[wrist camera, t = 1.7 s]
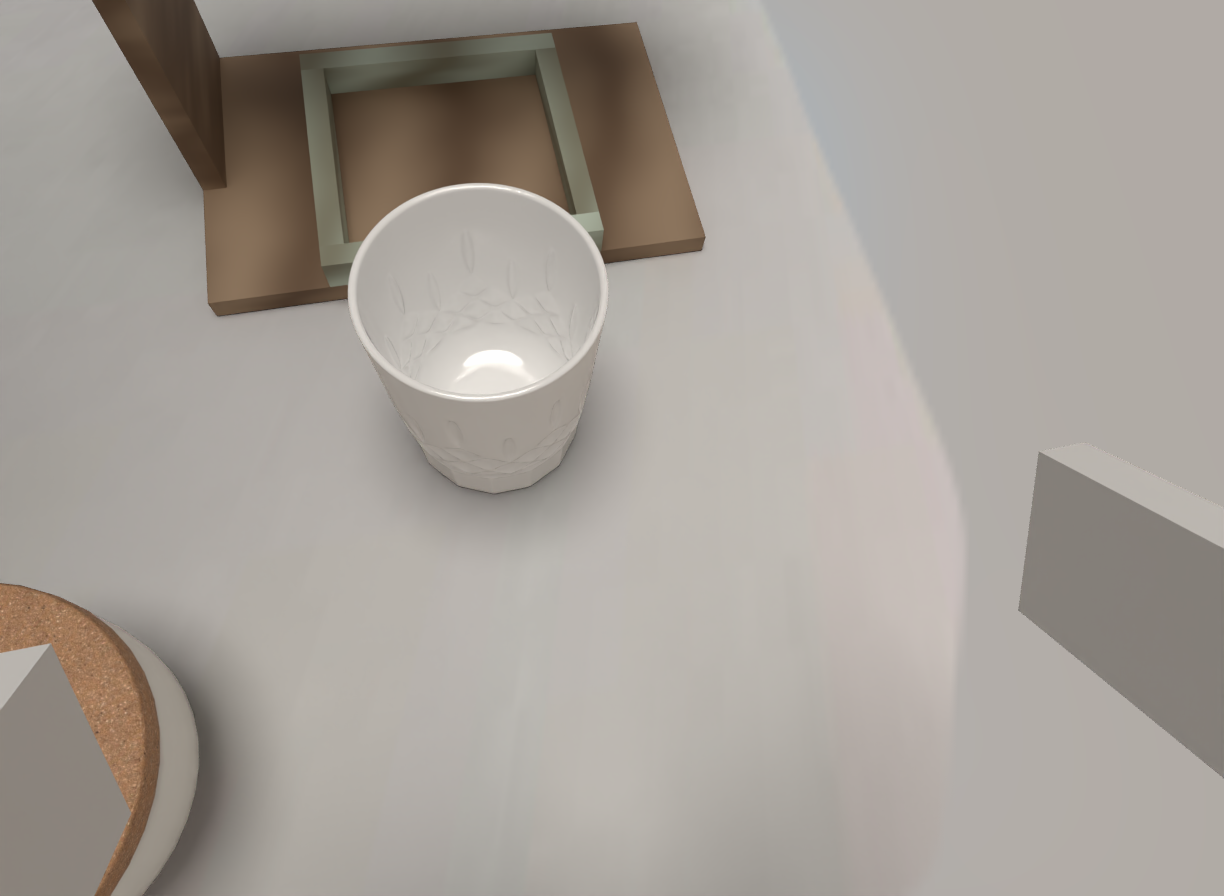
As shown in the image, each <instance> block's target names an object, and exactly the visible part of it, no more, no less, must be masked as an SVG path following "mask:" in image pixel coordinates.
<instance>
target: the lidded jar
mask: <svg viewBox="0 0 1224 896" xmlns="http://www.w3.org/2000/svg"><path fill="white" fill-rule="evenodd" d="M50 643H51V645H52V647H53V649H54V651H55V653H56V655H57V657H58V659H59V661H60V664H61V666H62V668H63V670H64V672H65V674H66V676H67V678H68V680H69V683H70V685H71V687H72V689H73V691H74V693H75V695H76V697H77V700H78V702H79V704H80V706H81V708H82V710H83V712H84V714H85V716H86V719H87V721H88V723H89V725H90V727H91V729H92V731H93V733H94V735H95V738H96V740H97V742H98V744H99V746H100V748H101V750H102V752H103V754H104V757H105V759H106V761H107V763H108V765H109V767H110V769H111V771H112V773H113V776H114V778H115V780H116V782H117V784H118V786H119V788H120V790H121V793H122V795H123V797H124V799H125V801H126V803H127V805H128V807H129V809H130V812H131V815H130V817H129V819H128V822H127V824H126V826H125V828H124V831H123V833H122V835H121V837H120V840H119V842H118V844H117V846H116V849H115V851H114V853H113V855H112V857H111V860H110V862H109V864H108V866H107V869H106V871H105V873H104V875H103V878H102V880H101V882H100V884H99V887H98V889H97V891H96V893H95V896H142V895H143V894H144V893H145V891H146V890H147V889H148V887H149V886H150V885H151V884H152V882H153V881H154V880H155V878H156V877H157V876H158V875H159V873H160V872H161V870H162V869H163V867H164V865H165V864H166V862H167V860H168V859H169V857H170V855H171V854H172V852H173V850H174V849H175V847H176V845H177V843H178V841H179V838H180V836H181V834H182V831H183V829H184V827H185V824H186V822H187V820H188V817H189V813H190V810H191V806H192V803H193V799H194V795H195V792H196V785H197V777H198V770H199V739H198V734H197V729H196V723H195V718H194V714H193V712H192V709H191V706H190V704H189V701H188V699H187V696H186V694H185V692H184V690H183V689H182V687H181V685H180V684H179V682H178V681H177V679H176V677H175V676H174V674H173V673H172V672H171V671H170V670H169V668H168V667H167V666H166V665H165V664H164V663H163V662H162V661H161V659H160V658H159V657H158V656H157V655H156V654H155V653H154V652H153V651H152V650H151V649H150V648H148V647H147V646H146V645H144V644H143V643H142V642H140V641H139V640H138V639H136V638H135V637H134V636H132V635H131V634H129V633H128V632H126V631H125V630H124V629H122V628H121V627H119V626H116V625H114V624H112V623H110V622H108V621H106V620H104V619H102V618H100V617H98V616H96V615H93V614H92V613H91V612H89V611H87V610H85V609H83V608H81V607H79V606H77V605H75V604H73V603H71V602H69V601H67V600H65V599H63V598H60V597H58V596H55V595H52V594H49V593H45V592H42V591H38V590H35V589H31V588H28V587H24V586H21V585H12V584H3V583H0V653H3V652H9V651H14V650H19V649H24V648H29V647H34V646H39V645H45V644H50Z"/></svg>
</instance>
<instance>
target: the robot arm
mask: <svg viewBox="0 0 1224 896" xmlns="http://www.w3.org/2000/svg"><path fill="white" fill-rule="evenodd" d="M1018 610H1019V611H1020V612H1021V613H1022V614H1023V615H1025V616H1026V617H1027V618H1028V619H1029V620H1031V621H1032V622H1033V623H1034V624H1036V625H1037V626H1038V627H1039V628H1040V629H1042V630H1043V631H1044V632H1045V633H1047V634H1048V635H1049V636H1050V637H1052V638H1053V639H1054V640H1055V641H1056V642H1058V643H1059V644H1060V645H1061V646H1063V647H1064V648H1065V649H1066V650H1068V651H1069V652H1070V653H1071V654H1072V655H1074V656H1075V657H1076V658H1077V659H1078V660H1080V661H1081V662H1082V663H1083V664H1085V665H1086V666H1087V667H1088V668H1090V669H1091V670H1092V671H1093V672H1094V673H1096V674H1097V675H1098V676H1099V677H1101V678H1102V679H1103V680H1104V681H1105V682H1107V683H1108V684H1109V685H1110V686H1111V687H1113V688H1114V689H1115V690H1116V691H1118V692H1119V693H1120V694H1121V695H1123V696H1124V697H1125V698H1126V699H1127V700H1129V701H1130V702H1131V703H1132V704H1134V705H1135V706H1136V707H1137V708H1138V709H1140V710H1141V711H1142V712H1143V713H1145V714H1146V715H1147V716H1148V717H1149V718H1151V719H1152V720H1153V721H1154V722H1156V723H1157V724H1158V725H1159V726H1160V727H1162V728H1163V729H1164V730H1165V731H1167V732H1168V733H1169V734H1170V735H1172V736H1173V737H1174V738H1175V739H1176V740H1178V741H1179V742H1180V743H1181V744H1182V745H1184V746H1185V747H1186V748H1187V749H1189V750H1190V751H1191V752H1192V753H1193V754H1195V755H1196V756H1197V757H1199V758H1200V759H1201V760H1202V761H1203V762H1204V763H1206V764H1207V765H1208V766H1209V767H1211V768H1212V769H1213V770H1214V771H1215V772H1217V773H1218V774H1219V775H1220V776H1222V777H1223V778H1224V508H1223V507H1221V506H1219V505H1217V504H1214V503H1212V502H1211V501H1208V500H1206V499H1204V498H1202V497H1200V496H1198V495H1196V494H1194V493H1192V492H1190V491H1187V490H1185V489H1183V488H1181V487H1179V486H1177V485H1175V484H1173V483H1171V482H1168V481H1166V480H1164V479H1162V478H1160V477H1158V476H1156V475H1154V474H1151V473H1150V472H1147V471H1145V470H1143V469H1141V468H1139V467H1137V466H1135V465H1133V464H1131V463H1128V462H1126V461H1124V460H1122V459H1120V458H1118V457H1116V456H1114V455H1111V454H1109V453H1107V452H1105V451H1103V450H1101V449H1099V448H1097V447H1095V446H1092V445H1090V444H1088V443H1086V442H1085V443H1079V444H1075V445H1069V446H1064V447H1059V448H1053V449H1048V450H1044V451H1039V454H1038V462H1037V470H1036V477H1035V485H1034V493H1033V501H1032V508H1031V516H1030V524H1029V532H1028V539H1027V548H1026V556H1025V563H1024V570H1023V578H1022V586H1021V594H1020V602H1019V609H1018ZM130 815H131V812H130V809H129V807H128V805H127V803H126V801H125V799H124V797H123V795H122V793H121V790H120V788H119V786H118V784H117V782H116V780H115V778H114V776H113V773H112V771H111V769H110V767H109V765H108V763H107V761H106V759H105V757H104V754H103V752H102V750H101V748H100V746H99V744H98V742H97V740H96V738H95V735H94V733H93V731H92V729H91V727H90V725H89V723H88V721H87V719H86V716H85V714H84V712H83V710H82V708H81V706H80V704H79V702H78V700H77V697H76V695H75V693H74V691H73V689H72V687H71V685H70V683H69V680H68V678H67V676H66V674H65V672H64V670H63V668H62V666H61V664H60V661H59V659H58V657H57V655H56V653H55V651H54V649H53V647H52V645H51V643H50V644H45V645H39V646H34V647H29V648H24V649H19V650H14V651H9V652H3V653H0V896H95V893H96V891H97V889H98V887H99V884H100V882H101V880H102V878H103V875H104V873H105V871H106V869H107V866H108V864H109V862H110V860H111V857H112V855H113V853H114V851H115V849H116V846H117V844H118V842H119V840H120V837H121V835H122V833H123V831H124V828H125V826H126V824H127V822H128V819H129V817H130Z"/></svg>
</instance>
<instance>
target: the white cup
mask: <svg viewBox="0 0 1224 896" xmlns="http://www.w3.org/2000/svg"><path fill="white" fill-rule="evenodd" d="M608 297H609V287H608V278H607V272H606V268H605V265H604V262H603V259H602V256H601V254H600V252H599V250H598V248H597V246H596V244H595V242H594V241H593V239H592V238H591V236H590V235H589V234H588V232H587V231H586V230H585V229H584V227H583V226H582V225H581V224H580V223H579V222H578V221H577V220H576V219H575V218H574V217H573V216H571V215H570V214H569V213H568V212H566V211H565V210H564V209H562V208H561V207H559V206H558V205H556V204H555V203H553V202H551V201H550V200H548V199H546V198H544V197H542V196H539V195H537V194H535V193H532V192H529V191H526V190H523V189H520V188H516V187H512V186H507V185H500V184H491V183H467V184H458V185H451V186H446V187H442V188H438V189H435V190H432V191H429V192H426V193H423V194H421V195H418V196H416V197H414V198H412V199H410V200H408V201H406V202H405V203H403V204H401V205H400V206H398V207H397V208H395V209H394V210H392V211H391V212H390V213H389V214H387V215H386V216H385V217H384V218H383V219H382V220H380V221H379V222H378V223H377V225H376V226H375V227H374V228H373V229H372V230H371V231H370V233H369V234H368V235H367V237H366V238H365V239H364V241H363V243H362V244H361V246H360V248H359V250H358V252H357V254H356V256H355V258H354V261H353V264H352V267H351V271H350V275H349V281H348V305H349V311H350V316H351V320H352V323H353V326H354V328H355V331H356V333H357V335H358V337H359V339H360V341H361V343H362V345H363V347H364V348H365V350H366V352H367V354H368V356H369V358H370V360H371V362H372V364H373V366H374V368H375V370H376V372H377V373H378V375H379V377H380V379H381V381H382V383H383V385H384V387H385V389H386V391H387V393H388V395H389V397H390V399H391V401H392V403H393V404H394V406H395V408H396V409H397V411H398V413H399V414H400V416H401V418H402V420H403V421H404V423H405V425H406V426H407V428H408V430H409V432H410V433H411V434H412V435H413V437H414V438H415V439H416V440H417V442H418V443H419V444H420V446H421V448H422V450H423V452H424V454H425V456H426V458H427V460H428V462H429V464H430V465H432V466H433V467H434V468H436V469H437V470H438V471H439V472H441V473H442V474H443V475H445V476H446V477H447V478H448V479H450V480H451V481H452V482H453V483H455V484H456V485H457V486H461V487H465V488H470V489H474V490H479V491H483V492H488V493H492V494H496V493H501V492H505V491H510V490H515V489H520V488H525V487H529V486H532V485H533V484H534V483H536V482H537V481H538V480H540V479H541V478H542V477H544V476H545V475H547V474H548V473H549V472H551V471H552V470H553V469H555V468H556V467H557V466H559V465H560V463H561V461H562V459H563V457H564V455H565V453H566V452H567V450H568V448H569V446H570V444H571V442H572V440H573V438H574V436H575V434H576V429H577V424H578V421H579V419H580V416H581V413H582V410H583V407H584V404H585V400H586V396H587V392H588V389H589V385H590V382H591V377H592V373H593V368H594V364H595V359H596V355H597V350H598V346H599V341H600V337H601V333H602V329H603V325H604V320H605V316H606V312H607V307H608Z"/></svg>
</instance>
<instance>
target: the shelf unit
mask: <svg viewBox="0 0 1224 896" xmlns="http://www.w3.org/2000/svg"><path fill="white" fill-rule="evenodd" d="M92 1H93V3H94V4H95V6H96V8H97V10H98V11H99V13H100V15H101V16H102V18H103V20H104V22H105V23H106V25H107V27H108V28H109V30H110V32H111V34H112V35H113V37H114V39H115V40H116V42H117V44H118V45H119V47H120V49H121V51H122V52H123V54H124V56H125V57H126V59H127V61H128V63H129V64H130V66H131V68H132V69H133V71H134V73H135V75H136V76H137V78H138V80H139V81H140V83H141V85H142V86H143V88H144V90H145V92H146V93H147V95H148V97H149V98H150V100H151V102H152V104H153V105H154V107H155V109H156V110H157V112H158V114H159V116H160V117H161V119H162V121H163V122H164V124H165V126H166V128H167V129H168V131H169V133H170V134H171V136H172V138H173V139H174V141H175V143H176V145H177V146H178V148H179V150H180V151H181V153H182V155H183V157H184V158H185V160H186V162H187V163H188V165H189V167H190V169H191V170H192V172H193V174H194V175H195V177H196V179H197V180H198V182H199V184H200V186H201V187H202V189H203V194H204V219H205V243H206V268H207V292H208V304H209V306H210V307H211V308H212V310H213V311H214V313H215V314H216V315H217V316H221V315H229V314H236V313H243V312H251V311H258V310H265V309H273V308H280V307H287V306H295V305H302V304H310V303H317V302H324V301H332V300H339V299H346V298H348V281H349V275H350V271H351V267H352V264H353V261H354V258H355V256H356V254H357V252H358V250H359V248H360V246H361V244H362V243H363V241H364V239H365V238H366V237H367V235H368V234H369V233H370V231H371V230H372V229H373V228H374V227H375V226H376V225H377V223H378V222H379V221H380V220H382V219H383V218H384V217H385V216H386V215H387V214H389V213H390V212H391V211H392V210H394V209H395V208H397V207H398V206H400V205H401V204H403V203H405V202H406V201H408V200H410V199H412V198H414V197H416V196H418V195H421V194H423V193H426V192H429V191H432V190H435V189H438V188H442V187H446V186H451V185H458V184H467V183H491V184H500V185H507V186H512V187H516V188H520V189H523V190H526V191H529V192H532V193H535V194H537V195H539V196H542V197H544V198H546V199H548V200H550V201H551V202H553V203H555V204H556V205H558V206H559V207H561V208H562V209H564V210H565V211H566V212H568V213H569V214H570V215H571V216H573V217H574V218H575V219H576V220H577V221H578V222H579V223H580V224H581V225H582V226H583V227H584V229H585V230H586V231H587V232H588V234H589V235H590V236H591V238H592V239H593V241H594V242H595V244H596V246H597V248H598V250H599V252H600V254H601V256H602V259H603V262H604V263H610V262H618V261H625V260H632V259H640V258H647V257H654V256H662V255H669V254H676V253H684V252H691V251H698V250H702V247H703V244H704V240H705V234H704V230H703V227H702V224H701V221H700V218H699V215H698V212H697V209H696V206H695V202H694V199H693V196H692V193H691V190H690V187H689V184H688V181H687V178H686V174H685V171H684V168H683V165H682V162H681V159H680V156H679V153H678V149H677V146H676V143H675V140H674V137H673V134H672V131H671V128H670V125H669V121H668V118H667V115H666V112H665V109H664V106H663V103H662V100H661V97H660V93H659V90H658V87H657V84H656V81H655V78H654V75H653V72H652V69H651V65H650V62H649V59H648V56H647V53H646V50H645V47H644V44H643V40H642V37H641V34H640V31H639V28H638V25H637V22H634V23H623V24H611V25H599V26H587V27H576V28H564V29H552V30H541V31H529V32H517V33H505V34H494V35H482V36H470V37H459V38H447V39H435V40H423V41H412V42H400V43H388V44H377V45H365V46H353V47H341V48H330V49H318V50H306V51H295V52H283V53H271V54H259V55H248V56H236V57H224V58H220V57H219V55H218V53H217V51H216V49H215V46H214V44H213V42H212V40H211V37H210V35H209V33H208V31H207V29H206V26H205V24H204V22H203V20H202V18H201V15H200V13H199V11H198V9H197V6H196V4H195V2H194V0H92Z"/></svg>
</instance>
